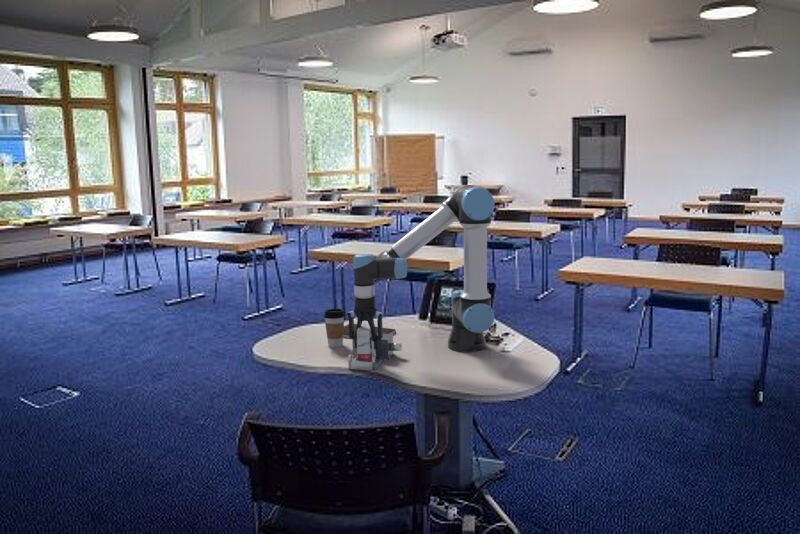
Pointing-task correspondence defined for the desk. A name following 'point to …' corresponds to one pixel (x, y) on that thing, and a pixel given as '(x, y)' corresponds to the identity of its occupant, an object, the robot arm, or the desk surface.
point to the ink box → (364, 343)
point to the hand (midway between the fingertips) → (366, 356)
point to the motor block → (383, 347)
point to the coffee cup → (334, 327)
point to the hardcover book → (385, 330)
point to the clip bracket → (364, 363)
